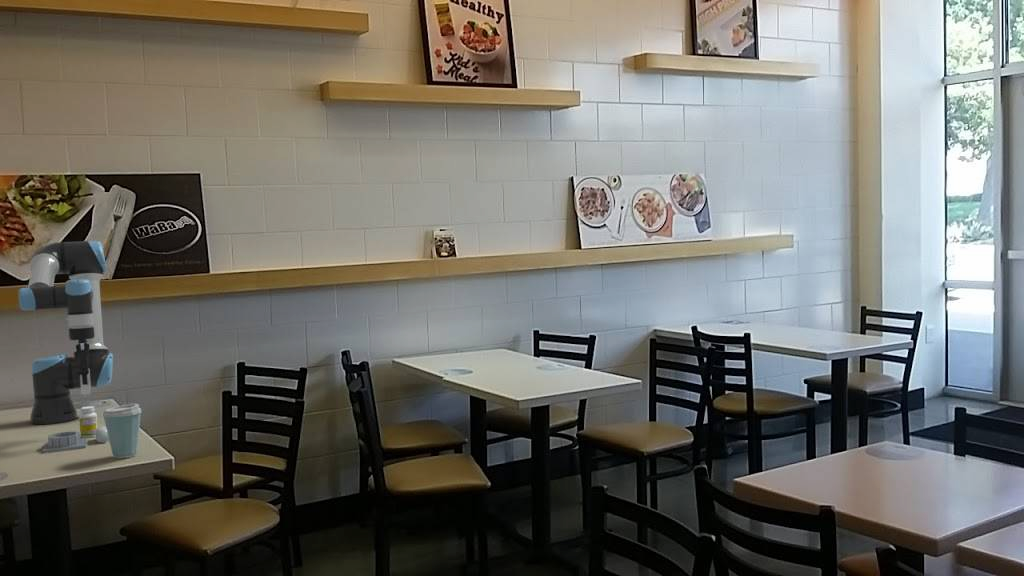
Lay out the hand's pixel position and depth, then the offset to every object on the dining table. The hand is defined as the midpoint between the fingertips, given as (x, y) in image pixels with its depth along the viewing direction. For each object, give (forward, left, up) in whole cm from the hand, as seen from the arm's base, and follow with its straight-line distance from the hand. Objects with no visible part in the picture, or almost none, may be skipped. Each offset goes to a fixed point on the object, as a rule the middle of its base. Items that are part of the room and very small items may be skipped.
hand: (86, 391), depth 311 cm
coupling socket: (+12, -7, -15) cm, 20 cm away
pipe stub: (+10, +4, -15) cm, 18 cm away
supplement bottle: (0, 0, -15) cm, 15 cm away
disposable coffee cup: (+37, +10, -15) cm, 41 cm away
